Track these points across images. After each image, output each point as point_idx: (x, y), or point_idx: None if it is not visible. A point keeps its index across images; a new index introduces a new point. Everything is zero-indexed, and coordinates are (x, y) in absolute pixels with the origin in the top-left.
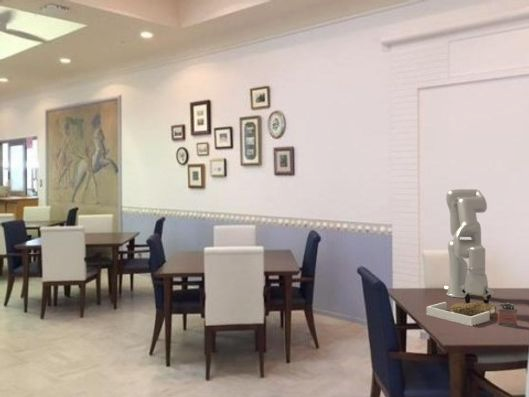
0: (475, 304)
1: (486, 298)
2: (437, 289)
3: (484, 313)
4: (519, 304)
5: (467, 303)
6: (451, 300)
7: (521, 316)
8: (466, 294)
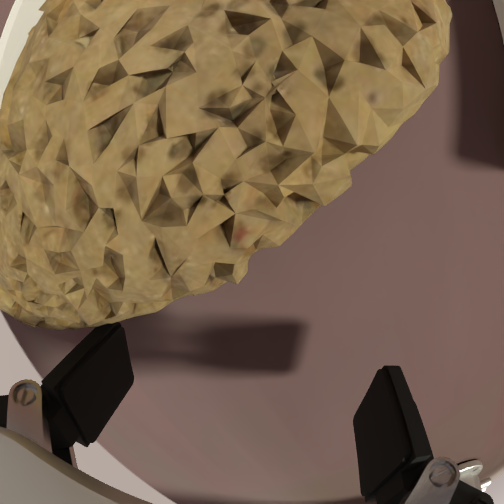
0: (29, 39)
1: (18, 395)
2: (494, 470)
3: (4, 28)
4: (175, 496)
5: (285, 144)
6: (476, 430)
7: (28, 350)
8: (419, 484)
